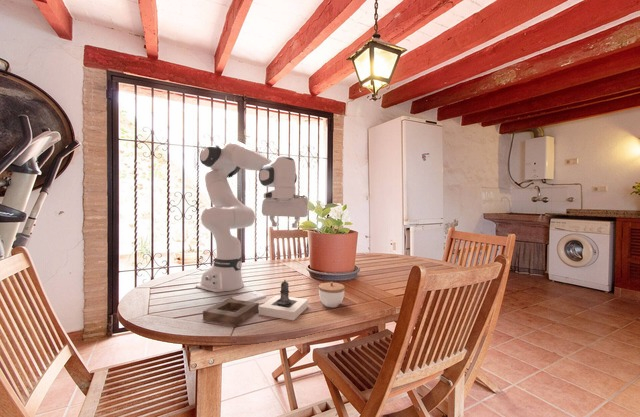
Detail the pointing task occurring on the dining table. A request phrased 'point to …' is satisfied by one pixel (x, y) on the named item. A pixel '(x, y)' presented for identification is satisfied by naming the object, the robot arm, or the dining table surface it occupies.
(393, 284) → the dining table surface
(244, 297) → the external hard drive
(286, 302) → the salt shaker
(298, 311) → the off-white holder
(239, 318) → the walnut holder
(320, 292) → the lidded jar
